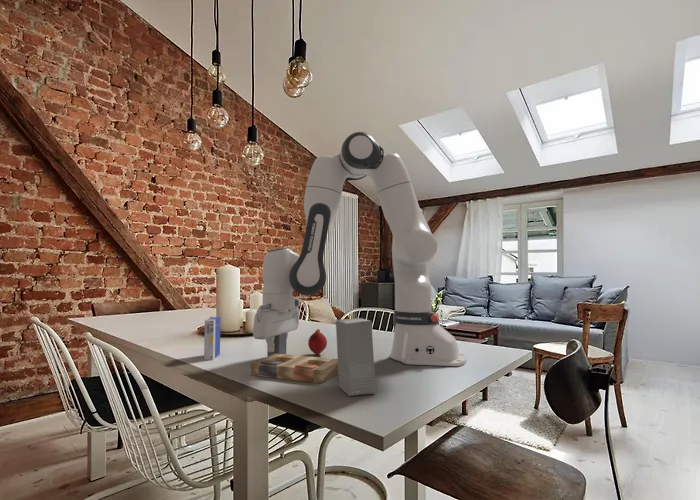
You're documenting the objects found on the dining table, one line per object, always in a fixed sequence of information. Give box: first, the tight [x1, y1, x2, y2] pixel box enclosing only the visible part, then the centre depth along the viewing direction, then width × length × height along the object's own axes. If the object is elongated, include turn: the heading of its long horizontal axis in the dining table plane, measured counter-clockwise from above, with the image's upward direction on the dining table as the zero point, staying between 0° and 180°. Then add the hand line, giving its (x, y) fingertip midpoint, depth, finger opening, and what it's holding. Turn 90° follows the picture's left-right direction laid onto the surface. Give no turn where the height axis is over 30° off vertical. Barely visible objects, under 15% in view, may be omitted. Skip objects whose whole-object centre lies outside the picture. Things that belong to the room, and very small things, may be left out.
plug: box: [266, 333, 287, 357], centre depth 116 cm, size 4×4×9 cm
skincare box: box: [335, 317, 377, 397], centre depth 88 cm, size 8×7×16 cm
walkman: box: [203, 315, 221, 361], centre depth 120 cm, size 8×3×12 cm, turn 4°
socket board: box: [250, 353, 338, 384], centre depth 102 cm, size 20×12×3 cm, turn 69°
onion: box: [307, 328, 328, 356], centre depth 123 cm, size 6×6×8 cm
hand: (277, 349), depth 116 cm, fingers closed on plug, 4 cm apart
